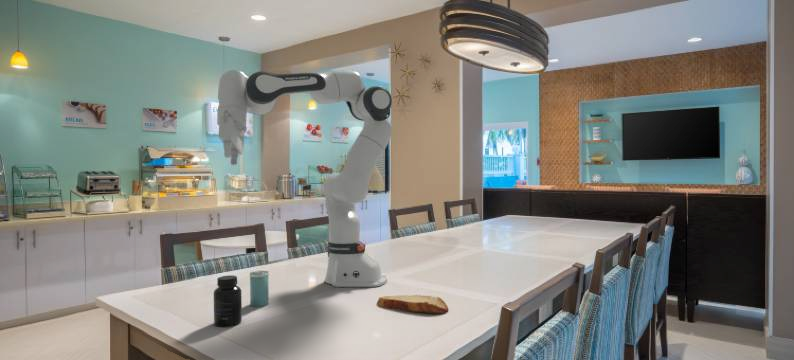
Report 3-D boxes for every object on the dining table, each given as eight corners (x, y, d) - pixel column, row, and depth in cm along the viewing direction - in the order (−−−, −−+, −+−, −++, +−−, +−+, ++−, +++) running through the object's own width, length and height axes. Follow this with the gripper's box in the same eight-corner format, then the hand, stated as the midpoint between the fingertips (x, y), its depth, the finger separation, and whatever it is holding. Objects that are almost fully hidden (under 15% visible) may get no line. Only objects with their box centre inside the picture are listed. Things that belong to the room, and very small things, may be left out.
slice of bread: (373, 303, 137) (373, 291, 137) (427, 297, 144) (427, 285, 144) (394, 321, 121) (394, 307, 121) (454, 314, 127) (454, 300, 127)
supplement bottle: (218, 319, 121) (218, 274, 121) (244, 318, 122) (244, 274, 122) (210, 328, 114) (209, 280, 114) (237, 327, 115) (237, 280, 115)
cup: (272, 302, 137) (271, 271, 137) (263, 307, 132) (263, 275, 131) (255, 301, 138) (255, 270, 138) (246, 306, 133) (246, 274, 132)
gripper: (236, 107, 136) (235, 152, 133) (247, 129, 156) (246, 168, 153) (213, 107, 135) (212, 152, 132) (228, 129, 155) (227, 168, 152)
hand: (231, 161), depth 143 cm, fingers open, 8 cm apart
